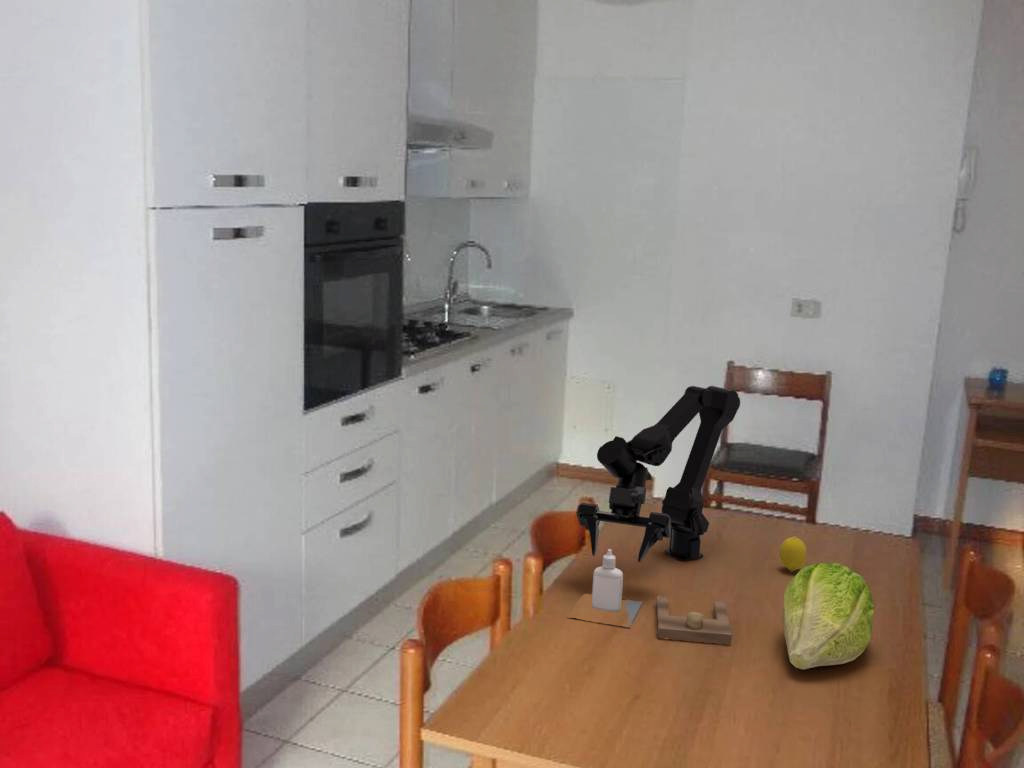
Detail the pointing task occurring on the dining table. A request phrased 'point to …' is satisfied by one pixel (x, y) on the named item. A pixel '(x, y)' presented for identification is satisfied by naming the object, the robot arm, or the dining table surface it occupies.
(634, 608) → the slate mat
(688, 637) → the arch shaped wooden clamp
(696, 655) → the dining table surface
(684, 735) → the dining table surface
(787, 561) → the lemon
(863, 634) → the lettuce
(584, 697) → the dining table surface
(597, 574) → the eye dropper bottle
